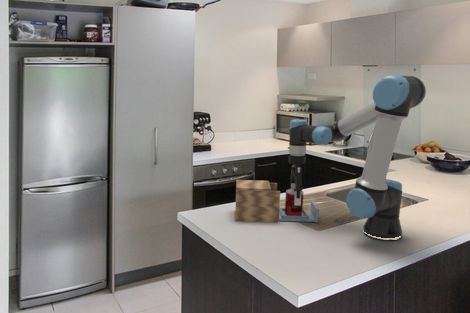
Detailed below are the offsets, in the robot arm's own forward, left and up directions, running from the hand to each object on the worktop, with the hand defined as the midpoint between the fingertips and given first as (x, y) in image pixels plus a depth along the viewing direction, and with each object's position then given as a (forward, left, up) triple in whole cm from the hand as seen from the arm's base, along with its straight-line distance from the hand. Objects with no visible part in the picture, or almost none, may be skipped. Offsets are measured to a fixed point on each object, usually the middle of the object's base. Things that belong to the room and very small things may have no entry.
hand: (295, 201), depth 191 cm
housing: (+14, +9, -8) cm, 19 cm away
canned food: (+1, 0, -7) cm, 7 cm away
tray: (0, 0, -8) cm, 8 cm away
